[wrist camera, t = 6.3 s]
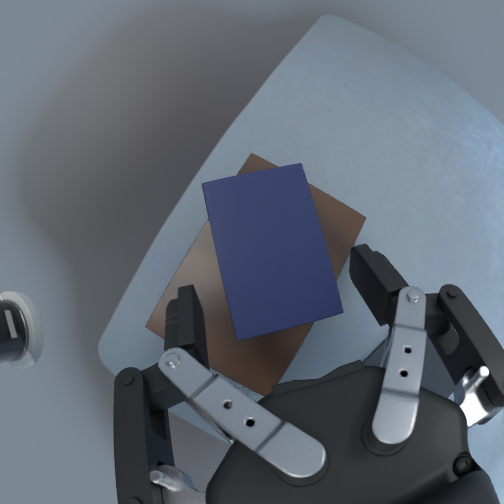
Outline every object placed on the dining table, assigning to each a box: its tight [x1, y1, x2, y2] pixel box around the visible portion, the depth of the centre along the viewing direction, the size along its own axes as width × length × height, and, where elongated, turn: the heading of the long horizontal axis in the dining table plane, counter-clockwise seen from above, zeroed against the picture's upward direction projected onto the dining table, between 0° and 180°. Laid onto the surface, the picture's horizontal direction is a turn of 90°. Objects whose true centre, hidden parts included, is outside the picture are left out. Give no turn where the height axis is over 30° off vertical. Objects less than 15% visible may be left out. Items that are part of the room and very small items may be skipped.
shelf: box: [145, 153, 366, 396], centre depth 28 cm, size 18×12×7 cm, turn 150°
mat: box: [362, 335, 455, 399], centre depth 29 cm, size 14×14×1 cm
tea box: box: [202, 163, 343, 341], centre depth 19 cm, size 5×8×11 cm, turn 13°
